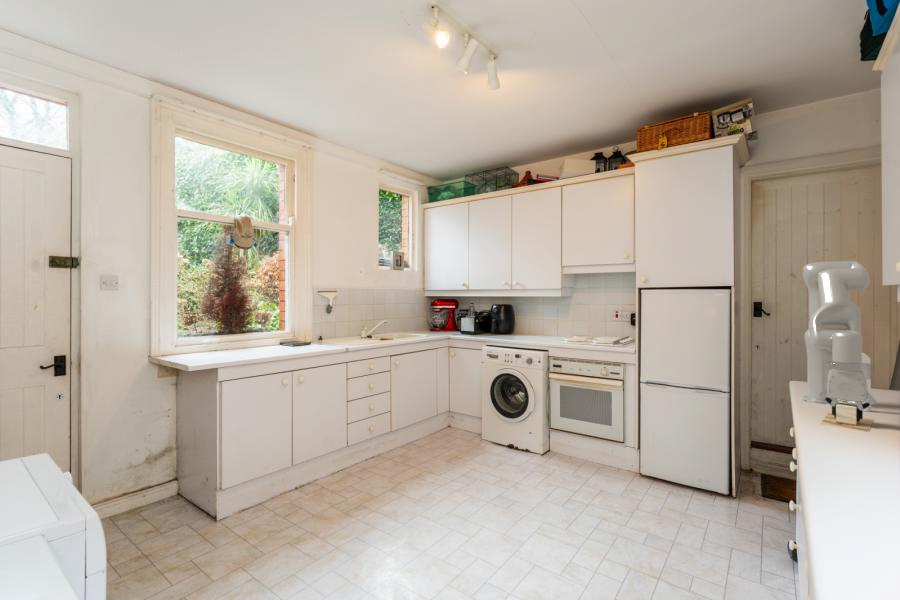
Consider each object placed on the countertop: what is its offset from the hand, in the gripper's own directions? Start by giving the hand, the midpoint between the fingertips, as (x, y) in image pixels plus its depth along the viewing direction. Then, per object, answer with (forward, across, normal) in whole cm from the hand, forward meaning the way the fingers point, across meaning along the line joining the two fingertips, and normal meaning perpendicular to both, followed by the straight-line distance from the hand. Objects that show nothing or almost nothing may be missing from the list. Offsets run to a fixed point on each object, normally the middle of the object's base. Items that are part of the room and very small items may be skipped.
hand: (847, 418), depth 146 cm
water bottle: (+3, +1, +26) cm, 27 cm away
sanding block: (+1, 0, 0) cm, 1 cm away
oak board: (+2, 0, +2) cm, 3 cm away
